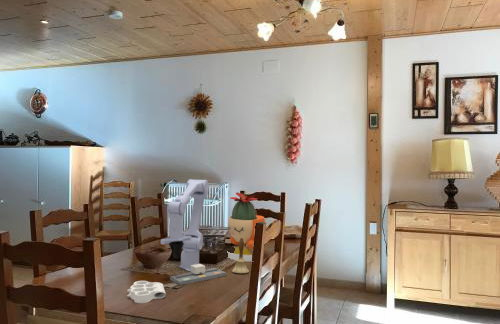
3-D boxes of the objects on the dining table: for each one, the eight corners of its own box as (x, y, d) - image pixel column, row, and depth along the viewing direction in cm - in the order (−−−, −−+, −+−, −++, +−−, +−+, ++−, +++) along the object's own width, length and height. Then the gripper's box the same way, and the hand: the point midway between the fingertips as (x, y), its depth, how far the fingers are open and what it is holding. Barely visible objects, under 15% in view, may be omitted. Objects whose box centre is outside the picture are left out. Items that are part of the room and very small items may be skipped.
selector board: (170, 279, 183) (170, 275, 183) (215, 271, 198) (215, 266, 198) (179, 285, 176) (179, 280, 176) (225, 275, 191) (225, 271, 191)
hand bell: (250, 270, 201) (251, 237, 202) (247, 274, 193) (248, 239, 193) (233, 269, 202) (234, 236, 203) (230, 272, 194) (230, 239, 195)
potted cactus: (243, 263, 213) (244, 196, 212) (218, 254, 230) (219, 192, 229) (273, 257, 227) (275, 194, 226) (248, 249, 244) (249, 190, 243)
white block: (190, 271, 188) (190, 265, 188) (199, 270, 191) (200, 263, 191) (198, 275, 183) (198, 268, 183) (207, 273, 186) (207, 267, 186)
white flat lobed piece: (166, 301, 158) (126, 305, 153) (162, 287, 175) (126, 289, 170) (166, 293, 157) (126, 296, 153) (162, 279, 175) (126, 281, 170)
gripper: (165, 231, 177) (165, 262, 177) (194, 227, 186) (194, 257, 187) (158, 228, 183) (158, 259, 183) (187, 225, 192) (186, 254, 192)
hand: (176, 258), depth 185 cm, fingers closed
